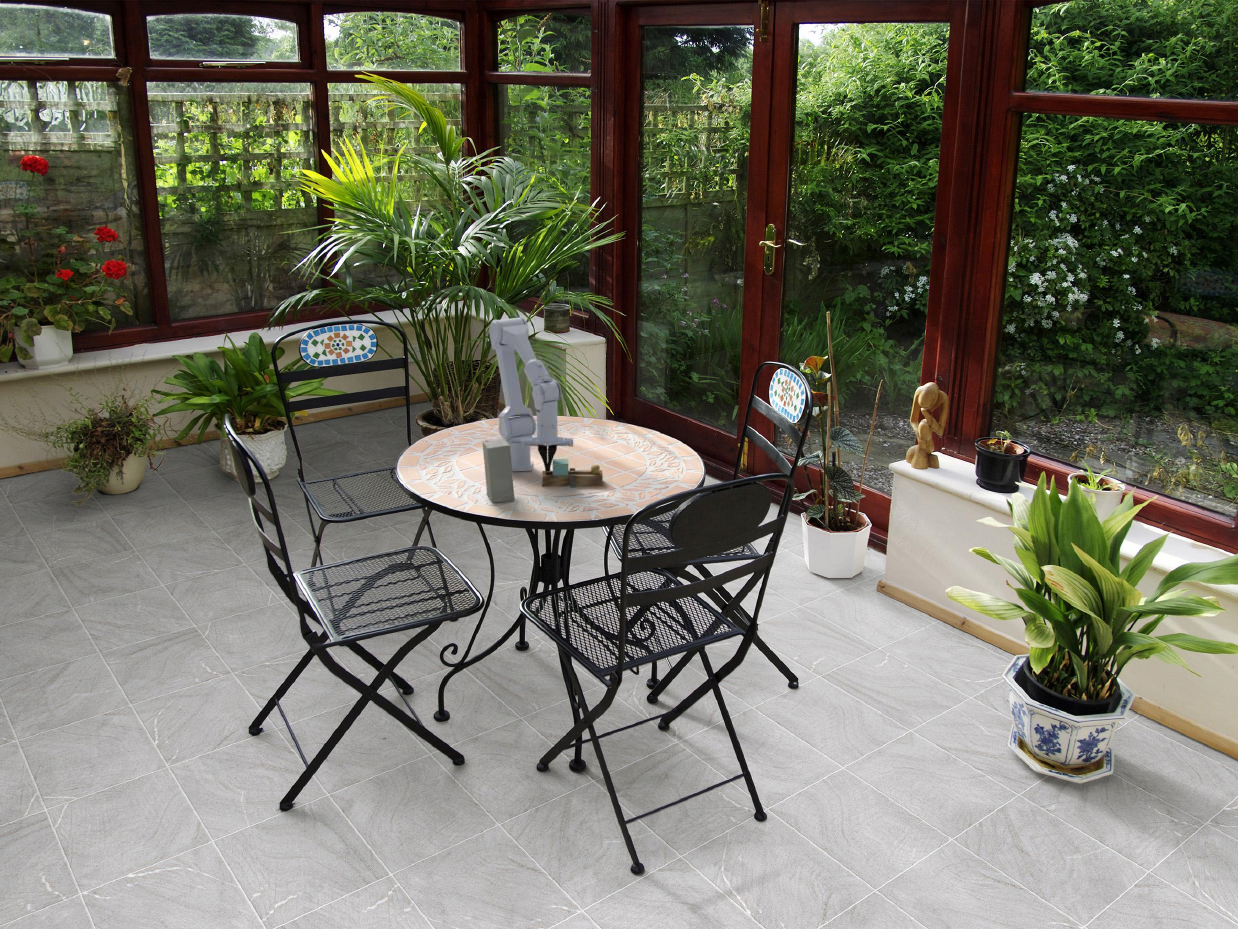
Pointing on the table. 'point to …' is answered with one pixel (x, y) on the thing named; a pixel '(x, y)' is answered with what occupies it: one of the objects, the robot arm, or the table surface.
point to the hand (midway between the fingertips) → (547, 470)
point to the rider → (560, 467)
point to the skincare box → (498, 470)
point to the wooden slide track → (574, 478)
